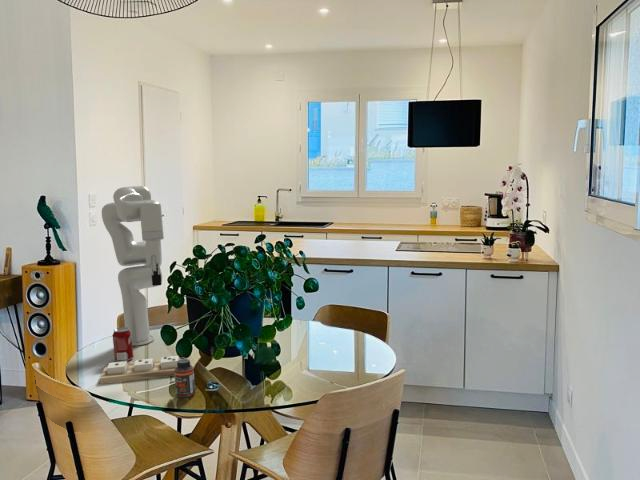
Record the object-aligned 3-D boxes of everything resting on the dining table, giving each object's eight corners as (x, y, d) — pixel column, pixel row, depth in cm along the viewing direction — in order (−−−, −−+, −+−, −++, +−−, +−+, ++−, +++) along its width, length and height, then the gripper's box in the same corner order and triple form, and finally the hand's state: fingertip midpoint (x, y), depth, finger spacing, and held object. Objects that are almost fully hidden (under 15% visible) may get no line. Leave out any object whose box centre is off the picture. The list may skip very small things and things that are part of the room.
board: (106, 371, 221) (105, 366, 221) (185, 362, 226) (184, 357, 226) (100, 383, 208) (99, 378, 208) (184, 374, 213) (183, 369, 213)
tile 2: (136, 370, 219) (135, 359, 219) (153, 368, 220) (152, 357, 220) (134, 376, 214) (133, 364, 213) (152, 374, 215) (151, 362, 214)
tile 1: (110, 373, 218) (109, 362, 217) (127, 371, 219) (126, 360, 218) (107, 379, 212) (106, 367, 211) (125, 377, 213) (124, 365, 212)
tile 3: (162, 368, 221) (161, 356, 220) (179, 366, 222) (178, 354, 222) (161, 373, 215) (160, 361, 215) (178, 371, 216) (177, 359, 216)
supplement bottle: (173, 398, 192) (170, 363, 191) (180, 391, 198) (178, 357, 196) (191, 398, 191) (188, 363, 189) (198, 391, 197) (195, 357, 195)
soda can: (127, 363, 229) (125, 331, 227) (111, 362, 230) (108, 331, 229) (136, 357, 236) (134, 326, 234) (120, 356, 237) (117, 326, 235)
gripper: (143, 234, 229) (148, 282, 232) (140, 238, 215) (144, 290, 217) (164, 232, 230) (168, 280, 233) (162, 237, 216) (166, 288, 218)
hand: (157, 284), depth 225 cm, fingers closed
